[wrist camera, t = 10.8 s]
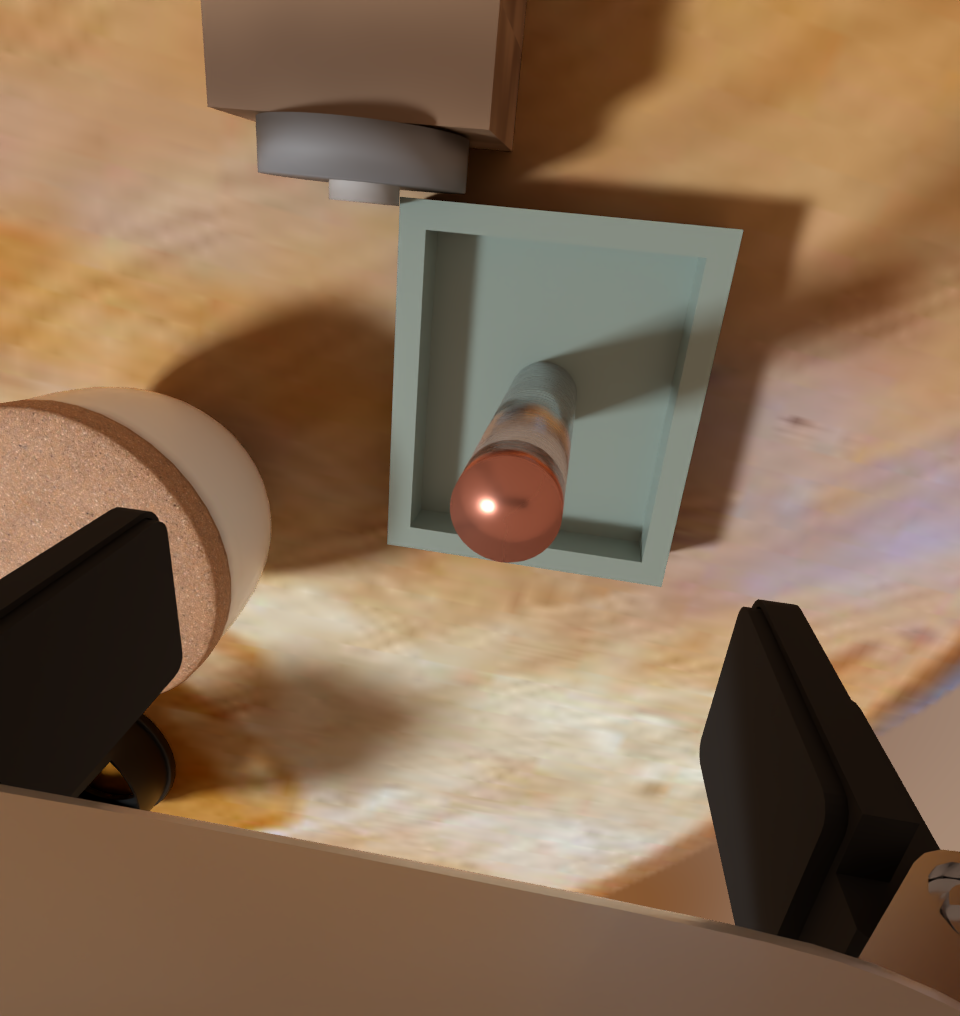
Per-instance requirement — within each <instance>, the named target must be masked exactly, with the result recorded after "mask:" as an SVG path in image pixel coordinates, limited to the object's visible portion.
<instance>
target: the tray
mask: <svg viewBox="0 0 960 1016" xmlns="http://www.w3.org/2000/svg"><path fill="white" fill-rule="evenodd" d="M742 234H743V230H741V229H730V228H720V227H710V226H699V225H689V224H678V223H668V222H657V221H647V220H636V219H626V218H615V217H605V216H594V215H584V214H574V213H563V212H553V211H542V210H532V209H521V208H511V207H500V206H490V205H479V204H469V203H459V202H448V201H438V200H427V199H417V198H406V197H400V214H399V241H398V268H397V295H396V321H395V348H394V375H393V402H392V428H391V455H390V482H389V509H388V535H387V544H389V545H396V546H402V547H409V548H415V549H421V550H428V551H434V552H441V553H447V554H453V555H460V556H466V557H473V558H479V559H485V560H490V559H487V558H485V557H483V556H481V555H479V554H477V553H476V552H474V551H473V550H471V549H470V548H469V547H468V546H467V545H466V544H465V543H464V542H463V541H462V540H461V538H460V537H459V536H458V534H457V532H456V531H455V528H454V526H453V523H452V520H451V515H450V501H451V496H452V492H453V490H454V487H455V485H456V483H457V481H458V480H459V478H460V476H461V474H462V472H463V471H464V469H465V467H466V465H467V463H468V462H469V460H470V458H471V456H472V454H473V452H474V451H475V449H476V447H477V445H478V443H479V442H480V440H481V438H482V436H483V434H484V432H485V431H486V429H487V427H488V425H489V423H490V422H491V420H492V418H493V416H494V414H495V413H496V411H497V409H498V407H499V405H500V403H501V402H502V400H503V398H504V396H505V394H506V393H507V391H508V389H509V387H510V385H511V384H512V382H513V380H514V378H515V377H516V375H517V374H518V373H519V372H520V371H521V370H522V369H523V368H524V367H526V366H528V365H530V364H532V363H536V362H551V363H555V364H557V365H559V366H561V367H563V368H564V369H565V370H566V371H567V372H568V373H569V374H570V375H571V377H572V378H573V380H574V382H575V385H576V389H577V401H576V409H575V417H574V426H573V434H572V442H571V450H570V459H569V467H568V475H567V483H566V491H565V500H564V508H563V516H562V522H561V527H560V530H559V532H558V534H557V536H556V538H555V540H554V541H553V542H552V544H551V545H550V546H549V547H548V548H547V549H546V550H544V551H543V552H542V553H540V554H539V555H537V556H535V557H533V558H531V559H528V560H525V561H521V562H511V564H517V565H524V566H530V567H537V568H543V569H549V570H556V571H562V572H569V573H575V574H581V575H588V576H594V577H601V578H607V579H613V580H620V581H626V582H633V583H639V584H646V585H652V586H658V587H661V586H662V582H663V578H664V573H665V569H666V565H667V560H668V556H669V552H670V547H671V543H672V539H673V534H674V530H675V526H676V521H677V517H678V513H679V508H680V504H681V500H682V495H683V491H684V486H685V482H686V478H687V473H688V469H689V465H690V460H691V456H692V452H693V447H694V443H695V439H696V434H697V430H698V426H699V421H700V417H701V413H702V408H703V404H704V400H705V395H706V391H707V387H708V382H709V378H710V374H711V369H712V365H713V360H714V356H715V352H716V347H717V343H718V339H719V334H720V330H721V326H722V321H723V317H724V313H725V308H726V304H727V300H728V295H729V291H730V287H731V282H732V278H733V274H734V269H735V265H736V261H737V256H738V252H739V247H740V243H741V239H742ZM492 561H493V560H492ZM505 563H506V562H505Z"/></svg>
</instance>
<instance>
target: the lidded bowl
mask: <svg viewBox="0 0 960 1016" xmlns="http://www.w3.org/2000/svg"><path fill="white" fill-rule="evenodd" d="M115 507H123V508H130V509H137V510H144V511H151V512H153V513H154V514H156V516H157V517H158V519H159V521H160V522H163V523H164V524H165V525H166V527H167V531H168V538H169V546H170V554H171V562H172V571H173V579H174V587H175V595H176V603H177V611H178V619H179V627H180V635H181V644H182V652H183V658H182V663H181V667H180V669H179V671H178V673H177V674H176V676H175V677H174V678H173V679H172V681H171V682H170V683H169V684H168V685H167V686H166V687H165V689H164V690H163V691H162V692H161V693H164V692H166V691H169V690H171V689H172V688H174V687H176V686H177V685H179V684H180V683H182V682H183V681H185V680H186V679H187V678H188V677H189V676H190V675H191V674H192V673H193V672H194V671H195V670H196V669H197V668H198V667H199V666H200V665H201V664H202V663H203V662H204V661H205V660H206V659H207V658H208V656H209V655H210V654H211V652H212V651H213V649H214V647H215V646H216V644H217V643H218V641H219V640H220V638H221V637H222V636H223V635H224V634H225V633H226V631H227V630H228V629H229V628H230V627H231V625H232V624H233V623H234V622H235V620H236V619H237V617H238V616H239V614H240V613H241V611H242V610H243V608H244V607H245V605H246V604H247V602H248V601H249V599H250V597H251V596H252V594H253V593H254V591H255V589H256V586H257V584H258V582H259V579H260V577H261V575H262V572H263V570H264V567H265V565H266V562H267V557H268V552H269V547H270V541H271V513H270V505H269V500H268V496H267V493H266V490H265V486H264V483H263V480H262V478H261V476H260V474H259V471H258V469H257V467H256V465H255V464H254V462H253V460H252V459H251V457H250V456H249V454H248V453H247V451H246V450H245V449H244V447H243V446H242V445H241V444H240V443H239V441H238V440H237V439H236V438H235V437H234V436H233V435H232V434H231V433H230V432H229V431H228V430H227V429H226V428H225V427H224V426H222V425H221V424H220V423H219V422H217V421H216V420H214V419H213V418H211V417H210V416H209V415H207V414H206V413H204V412H203V411H201V410H199V409H197V408H195V407H194V406H192V405H190V404H188V403H186V402H184V401H181V400H179V399H176V398H173V397H170V396H167V395H164V394H160V393H156V392H152V391H147V390H142V389H137V388H120V387H92V388H84V389H75V390H69V391H62V392H55V393H51V394H47V395H43V396H38V397H34V398H31V399H26V400H20V401H13V402H6V403H0V579H1V578H3V577H4V576H6V575H8V574H9V573H11V572H12V571H14V570H16V569H17V568H19V567H20V566H22V565H23V564H25V563H27V562H28V561H30V560H31V559H33V558H35V557H36V556H38V555H39V554H41V553H43V552H44V551H46V550H47V549H49V548H50V547H52V546H54V545H55V544H57V543H58V542H60V541H62V540H63V539H65V538H66V537H68V536H70V535H71V534H73V533H74V532H76V531H77V530H79V529H81V528H82V527H84V526H85V525H87V524H89V523H90V522H92V521H93V520H95V519H97V518H98V517H100V516H101V515H103V514H105V513H106V512H108V511H109V510H111V509H113V508H115ZM161 693H160V694H161Z"/></svg>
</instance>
